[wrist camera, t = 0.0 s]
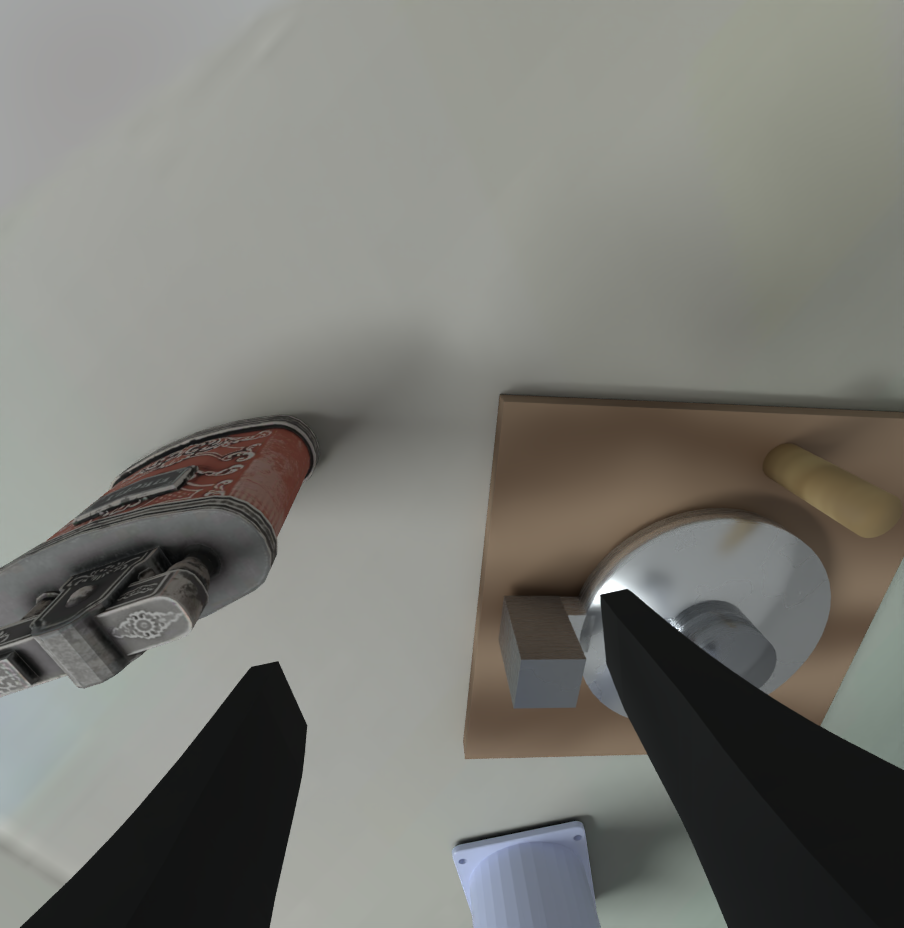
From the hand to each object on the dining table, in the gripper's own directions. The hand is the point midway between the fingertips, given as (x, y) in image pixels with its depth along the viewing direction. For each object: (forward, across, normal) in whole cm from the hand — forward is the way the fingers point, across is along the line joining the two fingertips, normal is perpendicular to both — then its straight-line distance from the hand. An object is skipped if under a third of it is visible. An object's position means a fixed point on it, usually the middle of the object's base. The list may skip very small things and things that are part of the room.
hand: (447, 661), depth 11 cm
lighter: (+10, +8, -2) cm, 13 cm away
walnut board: (+10, -10, +9) cm, 17 cm away
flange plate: (+9, -8, +9) cm, 15 cm away
